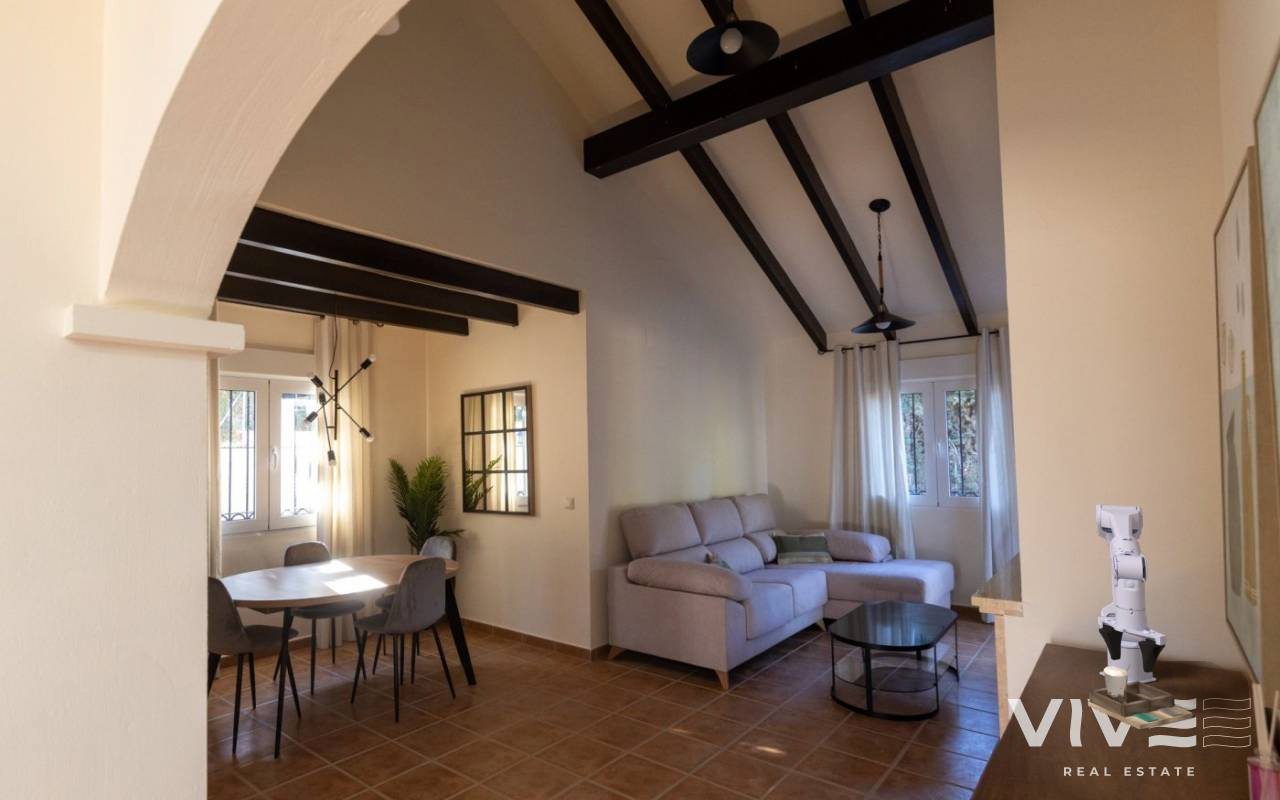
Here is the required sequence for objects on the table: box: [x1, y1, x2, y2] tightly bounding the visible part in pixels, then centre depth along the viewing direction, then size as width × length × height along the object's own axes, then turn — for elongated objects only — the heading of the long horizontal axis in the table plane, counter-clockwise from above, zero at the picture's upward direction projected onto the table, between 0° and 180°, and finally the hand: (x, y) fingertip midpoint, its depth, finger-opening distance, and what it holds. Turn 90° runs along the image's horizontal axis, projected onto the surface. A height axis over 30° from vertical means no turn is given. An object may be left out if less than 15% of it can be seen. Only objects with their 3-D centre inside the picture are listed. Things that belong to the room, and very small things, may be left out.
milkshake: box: [1103, 664, 1131, 704], centre depth 151 cm, size 4×5×10 cm
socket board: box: [1087, 681, 1194, 730], centre depth 151 cm, size 16×12×4 cm
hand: (1131, 665), depth 153 cm, fingers open, 7 cm apart
